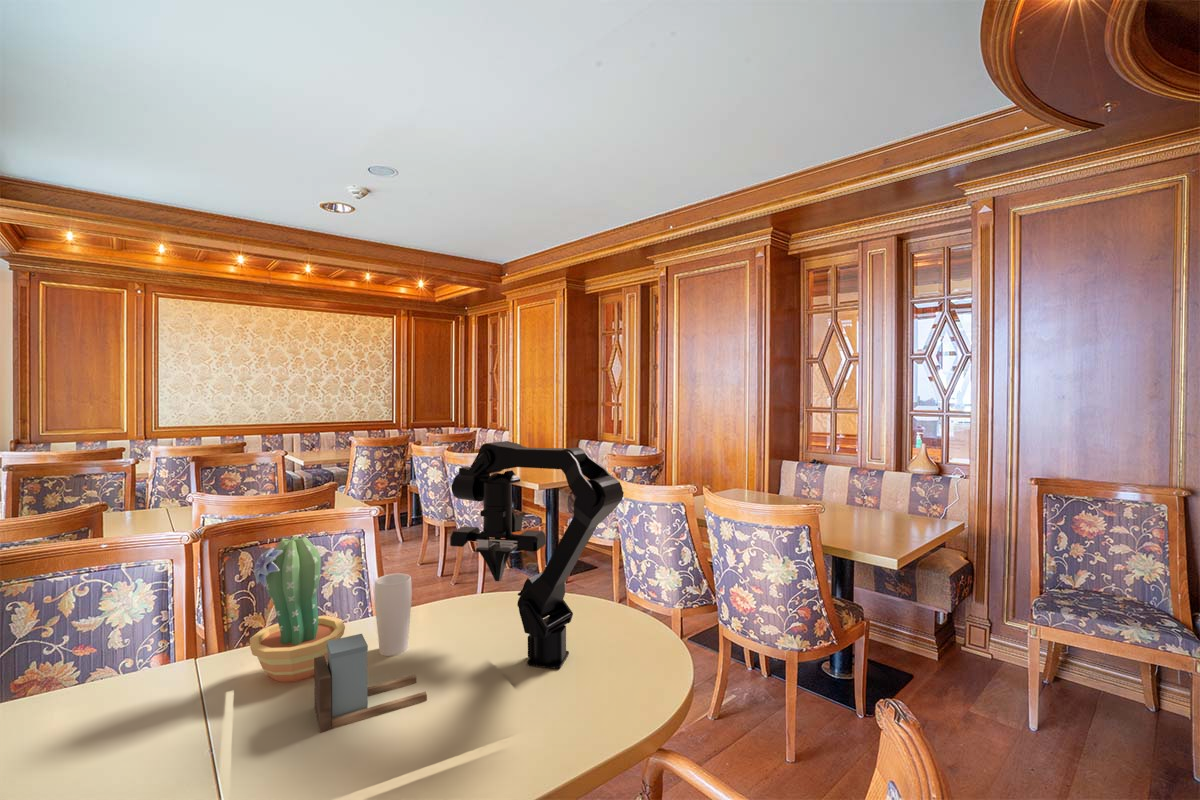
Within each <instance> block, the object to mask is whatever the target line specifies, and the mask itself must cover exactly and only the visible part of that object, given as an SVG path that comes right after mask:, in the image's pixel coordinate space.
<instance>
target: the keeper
mask: <svg viewBox="0 0 1200 800" xmlns="http://www.w3.org/2000/svg"><path fill="white" fill-rule="evenodd" d="M327 648H328V663H327V665H328V668H329V671H330V674H331V677H332V718H334V717H338V716H341V715H345V714H348V713H352V712H355V711H359V710H362V709H366V708H369V705H368V704H369V703H368V696H367V687H368V651H369V650H368V649H369V645H368V643H367V641H366V640H365V637H364V635H363V633H358V634H354V635H349V636H345V637H341V638H339V639H334V640H330V641H327Z"/></svg>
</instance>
